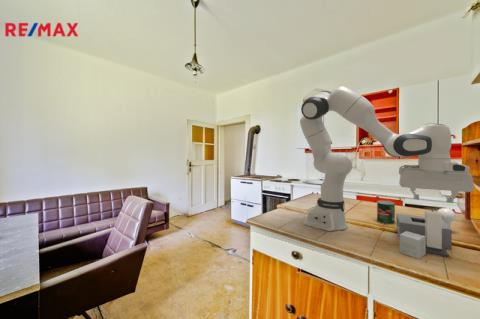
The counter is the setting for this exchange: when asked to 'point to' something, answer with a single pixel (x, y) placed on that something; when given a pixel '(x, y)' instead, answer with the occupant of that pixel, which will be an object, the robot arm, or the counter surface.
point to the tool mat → (438, 252)
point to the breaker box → (421, 228)
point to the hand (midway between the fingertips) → (432, 200)
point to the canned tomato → (386, 212)
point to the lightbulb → (447, 215)
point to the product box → (412, 244)
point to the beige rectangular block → (433, 231)
